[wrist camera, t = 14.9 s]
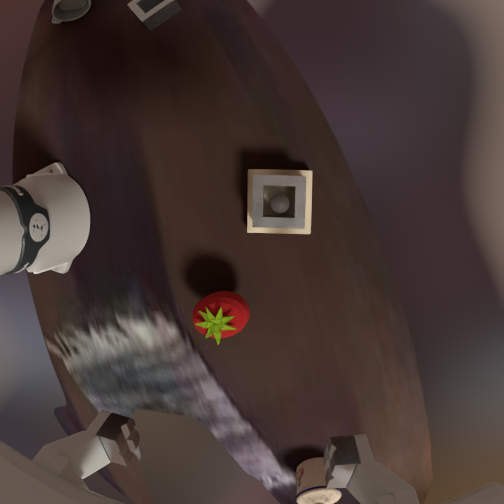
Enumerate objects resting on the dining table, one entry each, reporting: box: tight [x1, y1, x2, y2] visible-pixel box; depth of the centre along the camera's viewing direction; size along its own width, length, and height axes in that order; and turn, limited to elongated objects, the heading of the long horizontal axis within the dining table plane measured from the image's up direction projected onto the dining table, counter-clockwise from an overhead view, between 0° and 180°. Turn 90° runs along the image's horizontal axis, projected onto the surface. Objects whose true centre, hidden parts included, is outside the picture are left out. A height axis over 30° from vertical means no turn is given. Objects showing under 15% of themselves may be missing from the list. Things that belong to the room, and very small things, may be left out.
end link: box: [252, 175, 306, 229], centre depth 35 cm, size 6×6×4 cm
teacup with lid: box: [296, 457, 342, 504], centre depth 44 cm, size 12×9×12 cm
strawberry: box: [192, 291, 250, 345], centre depth 37 cm, size 6×8×10 cm
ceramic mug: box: [52, 0, 91, 24], centre depth 29 cm, size 11×8×8 cm
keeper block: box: [247, 169, 312, 234], centre depth 35 cm, size 8×8×7 cm
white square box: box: [127, 0, 182, 31], centre depth 31 cm, size 6×6×4 cm
